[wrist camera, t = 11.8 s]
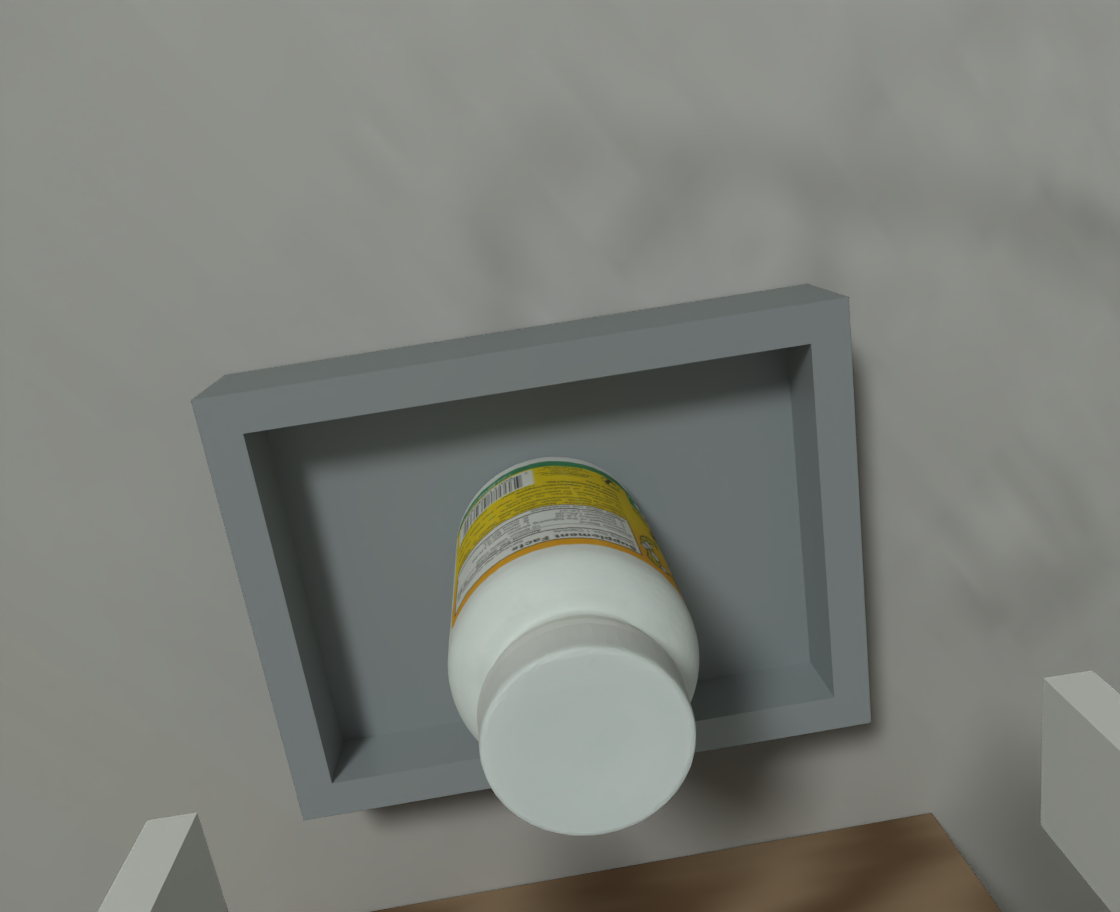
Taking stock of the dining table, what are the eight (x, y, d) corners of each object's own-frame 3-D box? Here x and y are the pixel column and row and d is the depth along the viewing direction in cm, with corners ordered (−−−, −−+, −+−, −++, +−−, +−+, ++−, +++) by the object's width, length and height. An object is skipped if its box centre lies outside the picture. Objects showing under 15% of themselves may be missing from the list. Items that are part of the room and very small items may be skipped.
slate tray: (807, 284, 25) (849, 296, 23) (832, 669, 29) (870, 722, 26) (224, 375, 25) (190, 400, 22) (322, 755, 28) (303, 820, 26)
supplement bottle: (467, 441, 25) (456, 594, 16) (661, 463, 26) (761, 621, 16) (447, 623, 26) (427, 859, 17) (631, 639, 27) (707, 875, 18)
